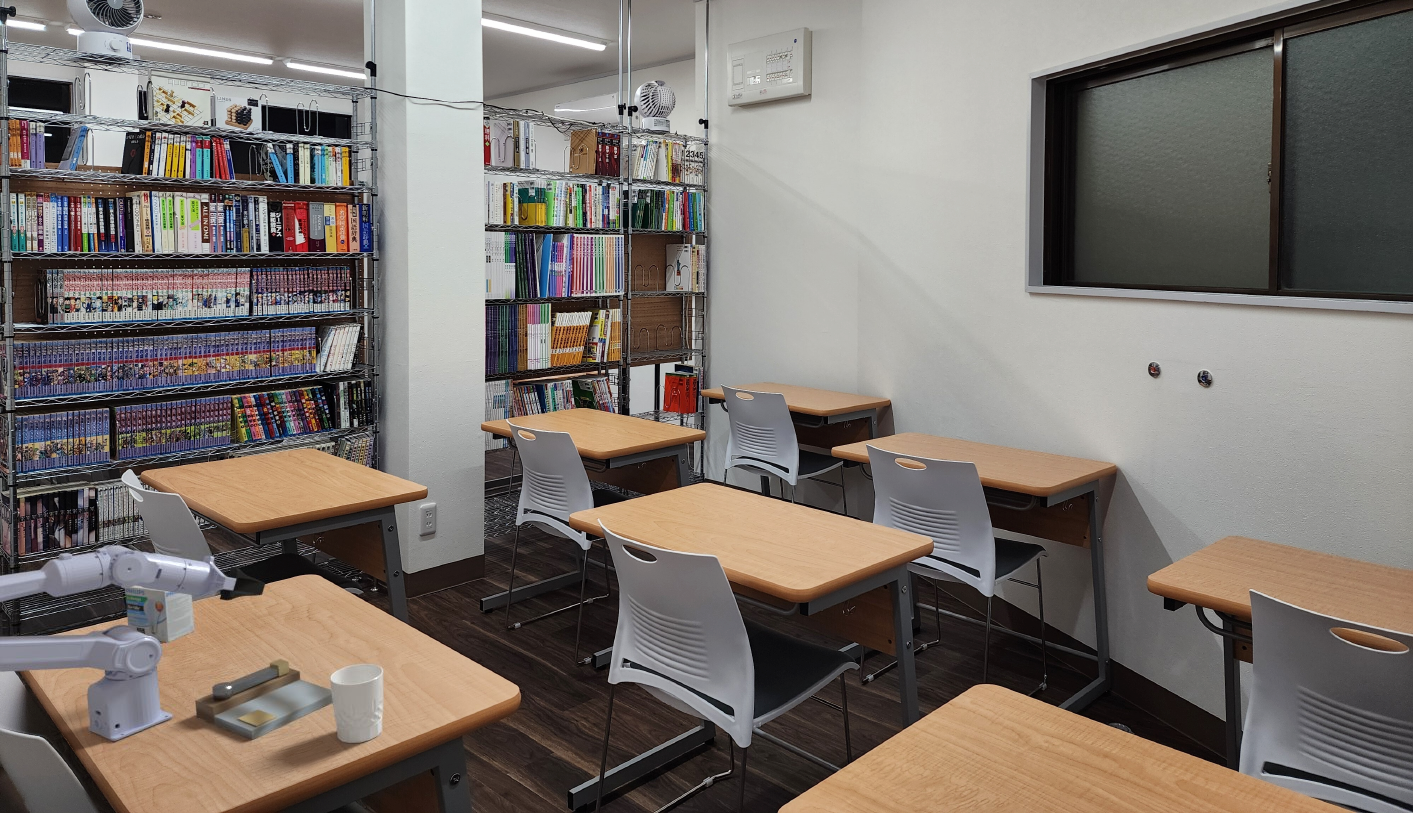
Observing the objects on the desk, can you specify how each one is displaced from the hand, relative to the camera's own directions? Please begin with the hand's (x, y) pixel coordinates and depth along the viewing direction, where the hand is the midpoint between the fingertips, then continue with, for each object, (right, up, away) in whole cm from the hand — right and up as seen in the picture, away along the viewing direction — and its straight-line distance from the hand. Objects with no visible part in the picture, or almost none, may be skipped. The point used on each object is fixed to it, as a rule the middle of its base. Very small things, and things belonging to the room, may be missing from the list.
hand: (250, 586), depth 167 cm
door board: (+8, -19, -10) cm, 23 cm away
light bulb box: (-30, -15, +24) cm, 41 cm away
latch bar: (+4, -15, -8) cm, 18 cm away
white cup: (+26, -20, -18) cm, 38 cm away
